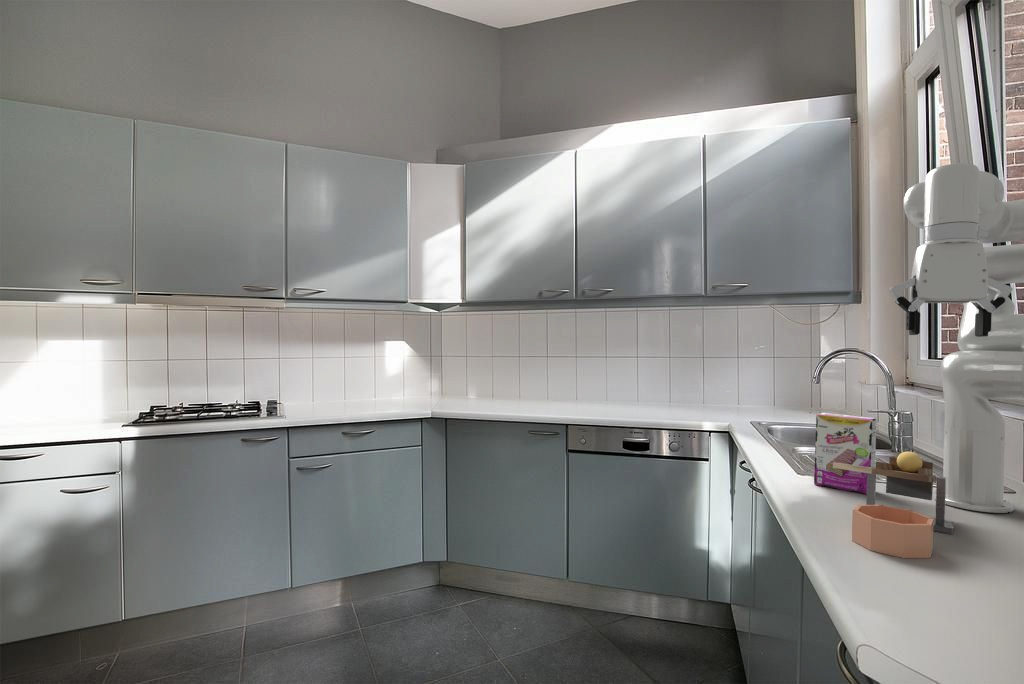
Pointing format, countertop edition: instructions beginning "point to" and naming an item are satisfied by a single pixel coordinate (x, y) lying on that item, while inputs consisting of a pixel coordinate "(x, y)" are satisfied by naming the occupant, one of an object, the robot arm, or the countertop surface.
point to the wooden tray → (900, 478)
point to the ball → (909, 462)
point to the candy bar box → (844, 450)
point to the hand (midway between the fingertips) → (947, 335)
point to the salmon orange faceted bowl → (893, 531)
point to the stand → (939, 521)
